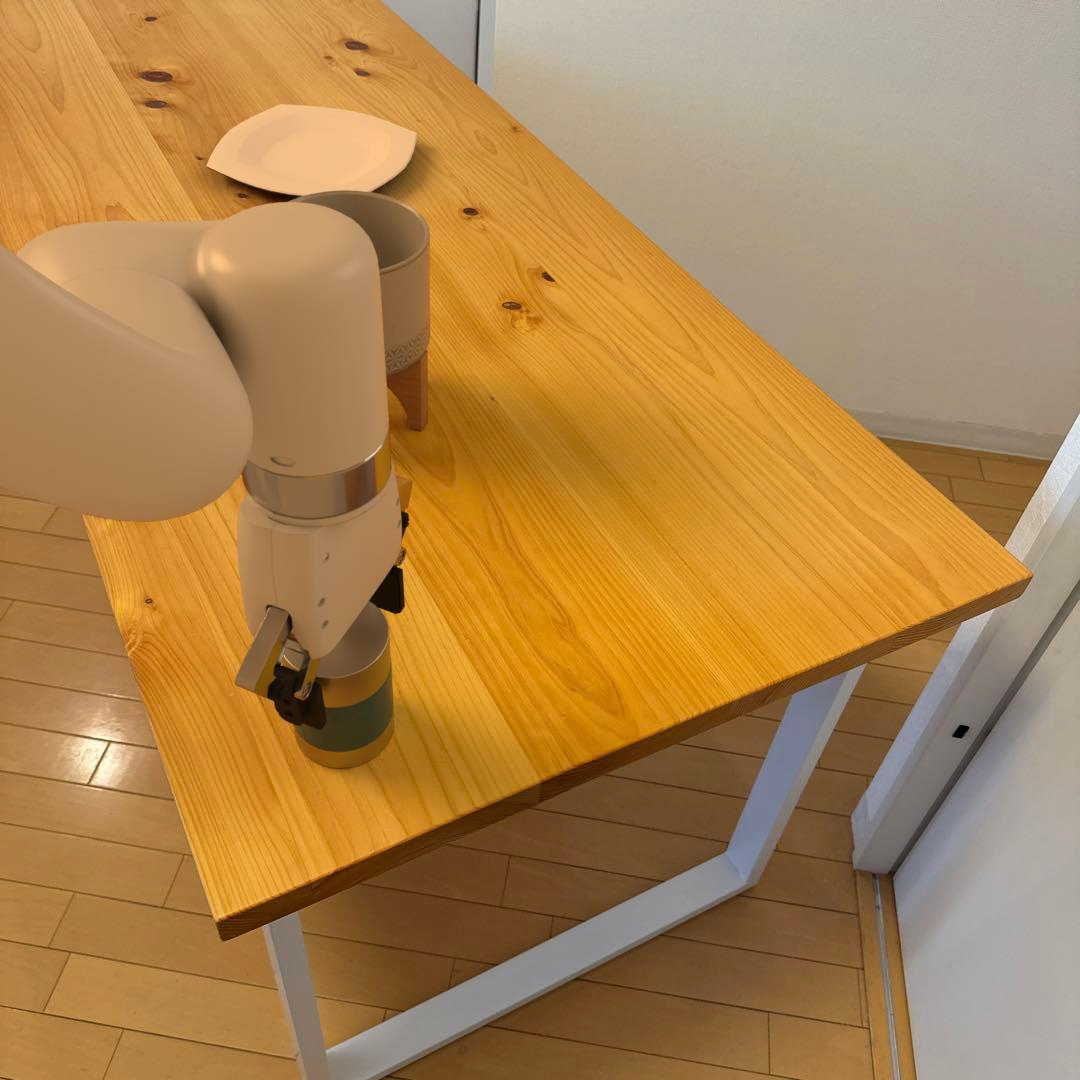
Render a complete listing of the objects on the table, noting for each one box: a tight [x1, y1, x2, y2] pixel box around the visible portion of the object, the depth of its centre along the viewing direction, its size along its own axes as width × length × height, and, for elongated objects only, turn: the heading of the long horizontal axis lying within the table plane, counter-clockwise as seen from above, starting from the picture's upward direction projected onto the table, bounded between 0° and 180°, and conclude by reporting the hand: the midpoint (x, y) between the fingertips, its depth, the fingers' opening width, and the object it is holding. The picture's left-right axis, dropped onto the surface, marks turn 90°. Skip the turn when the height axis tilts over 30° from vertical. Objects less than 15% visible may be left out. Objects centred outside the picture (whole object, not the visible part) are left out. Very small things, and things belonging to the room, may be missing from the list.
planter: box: [288, 190, 431, 432], centre depth 85 cm, size 13×13×18 cm
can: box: [281, 601, 395, 769], centre depth 64 cm, size 7×7×10 cm
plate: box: [206, 103, 418, 198], centre depth 123 cm, size 23×23×2 cm
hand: (343, 658), depth 63 cm, fingers open, 9 cm apart
